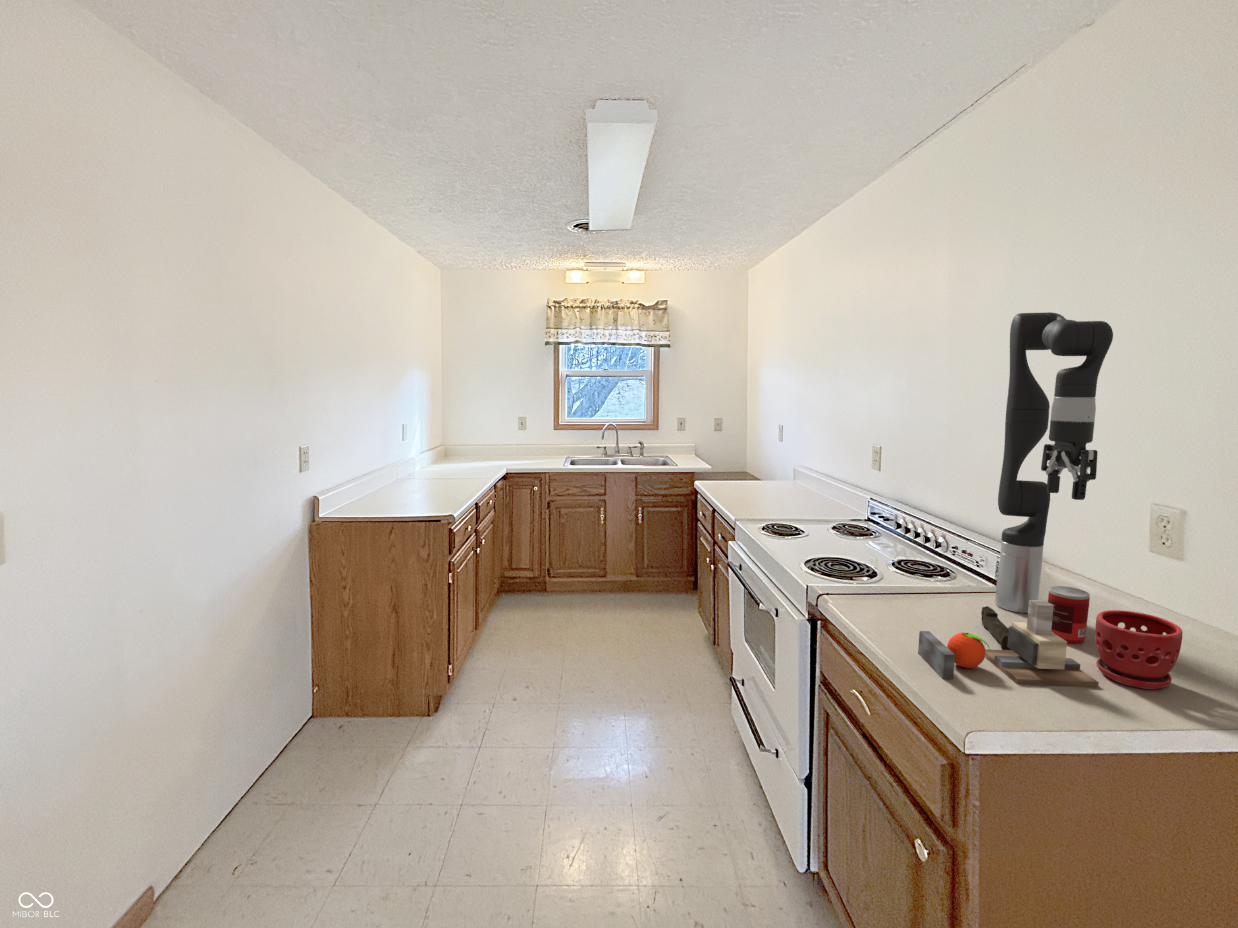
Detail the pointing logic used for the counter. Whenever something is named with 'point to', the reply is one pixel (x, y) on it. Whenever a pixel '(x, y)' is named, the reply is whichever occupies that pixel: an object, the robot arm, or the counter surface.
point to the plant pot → (1137, 648)
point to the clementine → (967, 649)
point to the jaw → (1038, 638)
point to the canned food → (1069, 613)
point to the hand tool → (995, 626)
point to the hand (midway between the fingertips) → (1064, 496)
